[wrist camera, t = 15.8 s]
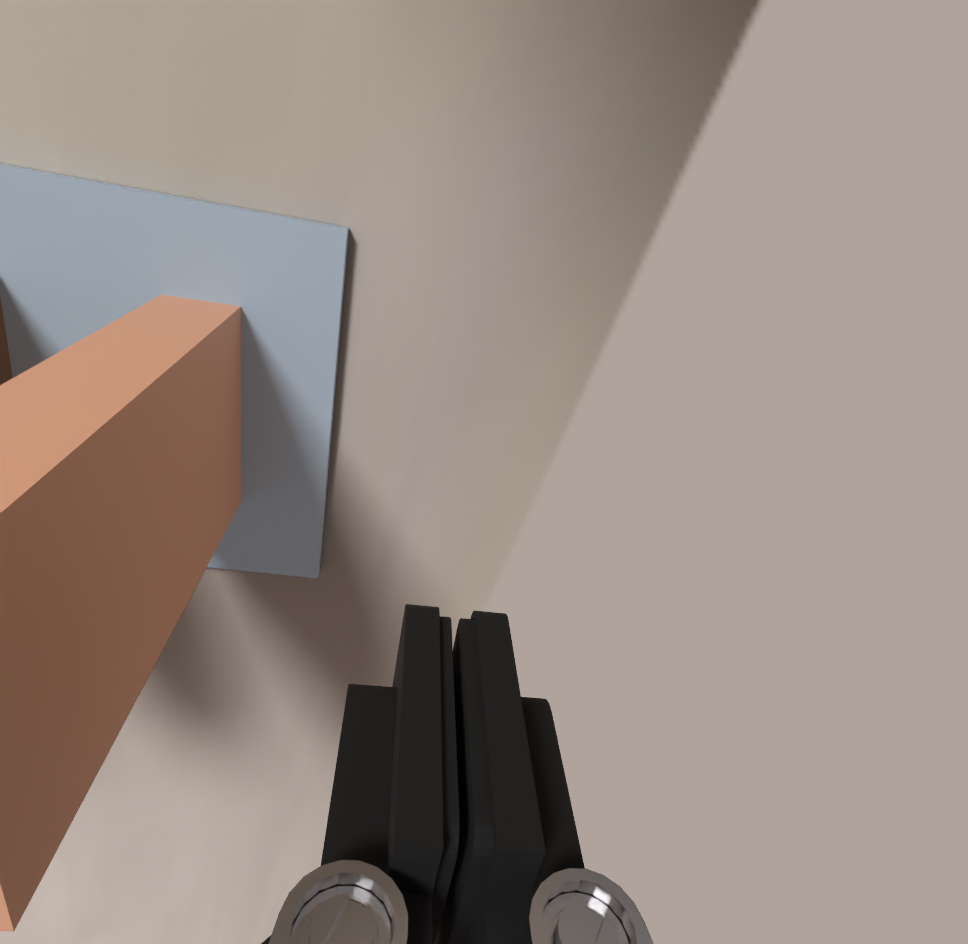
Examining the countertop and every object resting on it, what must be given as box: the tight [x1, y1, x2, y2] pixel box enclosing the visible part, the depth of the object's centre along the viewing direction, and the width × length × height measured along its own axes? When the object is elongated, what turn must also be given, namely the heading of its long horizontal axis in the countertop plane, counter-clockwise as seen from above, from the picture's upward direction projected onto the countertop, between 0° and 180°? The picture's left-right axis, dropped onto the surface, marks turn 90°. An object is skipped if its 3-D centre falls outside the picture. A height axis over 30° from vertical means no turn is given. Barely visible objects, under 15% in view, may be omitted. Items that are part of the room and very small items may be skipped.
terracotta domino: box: [0, 295, 241, 931], centre depth 13 cm, size 2×6×12 cm, turn 170°
